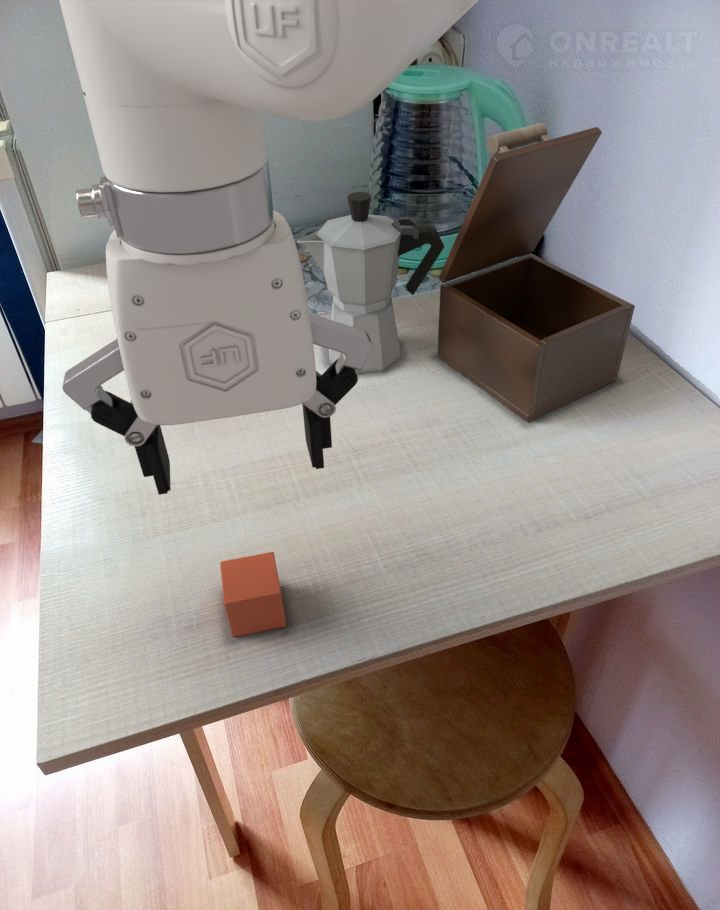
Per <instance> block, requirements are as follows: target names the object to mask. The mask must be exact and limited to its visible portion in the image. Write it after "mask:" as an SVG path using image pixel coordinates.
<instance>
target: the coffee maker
mask: <svg viewBox="0 0 720 910" xmlns="http://www.w3.org/2000/svg"><path fill="white" fill-rule="evenodd" d="M346 198H347V203H348V208H349V212H350V214H349V215H344V216H340V217H336V218H331V219H328V220H326V222H325V223H324V224H323V225H322V226H321V228H320V229H318V230H317V231H315V232H312V233H310V234H308V235H306V236H304V237H301V238H299V239H297V242H296V243H298V244H300V245H304V247H305V249H306V250H307V251H308V252H309V254H310V256H311V257H312V258H313V260H314V261H315V262H316V264H317V265H318V267H319V268H320V270H321V271H322V273H323V276H324V279H325V280H324V281H325V284H326V287H327V290H328V292H330V293H331V295H332V296H333V297H332V301H331V312H330V320H333V321H336V322H339V323H342V324H345V325H348V326H351V327H354V328H357V329H360V330H363V331H365V332H367V333H368V335H369V337H370V340H371V342H372V344H373V350H372V352H371V354H370V356H369V358H368V360H367V362H366V363H365V365H364V367H363V369H362V371H360V372H359V374H358V375H360V374H361V375H362V374H371V373H383V372H385V371H386V370H388V369H389V368H390V367H392V366H393V365H395V364H396V363H398V361H400V360H402V352H401V346H400V345H401V344H400V340H399V334H398V328H397V323H396V315H395V310H394V303H393V299H392V292H393V290H394V288H395V287H396V285H397V279H398V271H399V265H400V259H401V258H400V256H403V255H405V254H406V253H409V252H412V251H414V250H416V249H418V248H420V247H422V246H424V245H430V247H429V249H428V250H427V252H426V253H425V254H424V256H423V258H422V259H421V261H420V262H419V265H417V266H416V269H415V270H414V272H413V273H412V275H411V276H410V278H409V279H408V281H407V283H406V284H405V289H406V291H407V292H408V293H410V294H411V295H412V296H414V295H415V293H416V292H417V290H418V289H419V287H420V285H421V284H422V282H423V281H424V280H425V278H426V276H427V275H428V274H429V272H430V270H431V269H432V267H433V265H434V264H435V262H436V261H437V259H438V258H439V257H440V255H441V253H442V252H443V250H444V249H445V245H444V244H445V243H444V242H443V240H442V238H441V237H440V234H439V232H438V230H437V228H436V227H435V225H432V224H428V223H422V224H416V222H415V221H414V220H412V219H411V218H410V217H397V218H396V219H395V220H393V218H390V217H389V216H387V215H377V214H370V206H371V200H372V195H371V194H370V193H369V192H366V191H365V192H364V191H355V192H351V193H349V194H348V195H347V197H346ZM327 352H328V353H327V354H328V362H329V365H330V366H331V365H332V364H333V363H334V362H335V361H336V360H337V359H338V358H339V357H340V353H341V352H338V351H335V350H331V349H328V348H327Z"/></svg>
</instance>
